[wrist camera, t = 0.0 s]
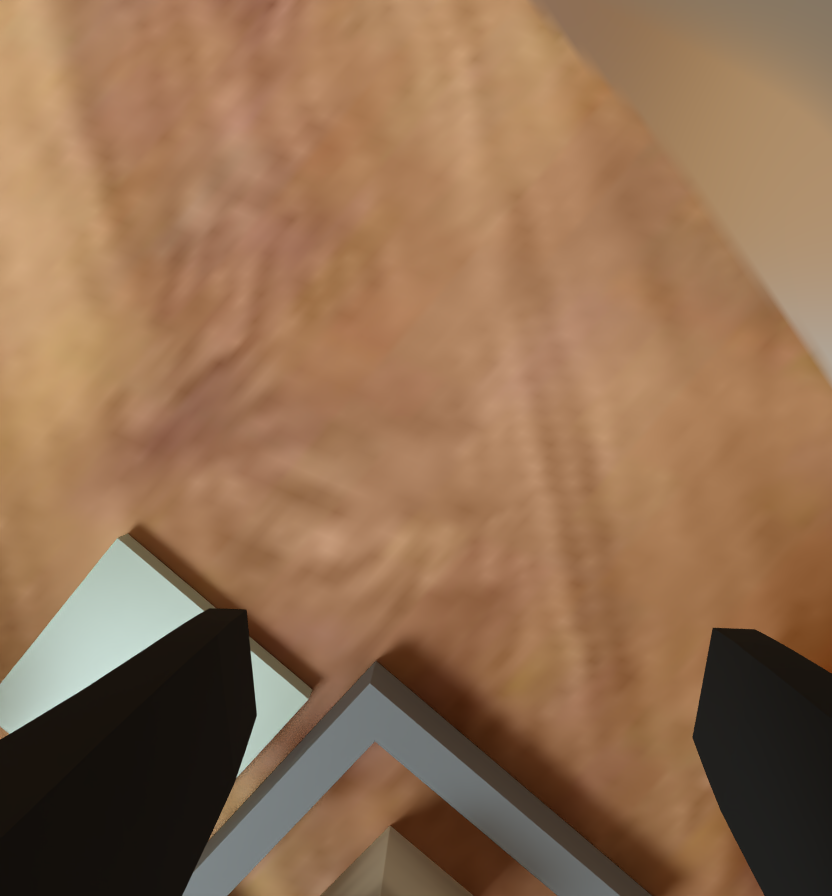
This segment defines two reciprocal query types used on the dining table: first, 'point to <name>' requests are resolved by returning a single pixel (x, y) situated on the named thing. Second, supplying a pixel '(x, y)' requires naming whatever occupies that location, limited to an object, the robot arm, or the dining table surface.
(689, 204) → the dining table surface
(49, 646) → the green pad
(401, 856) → the maple block
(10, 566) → the dining table surface
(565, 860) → the frame
